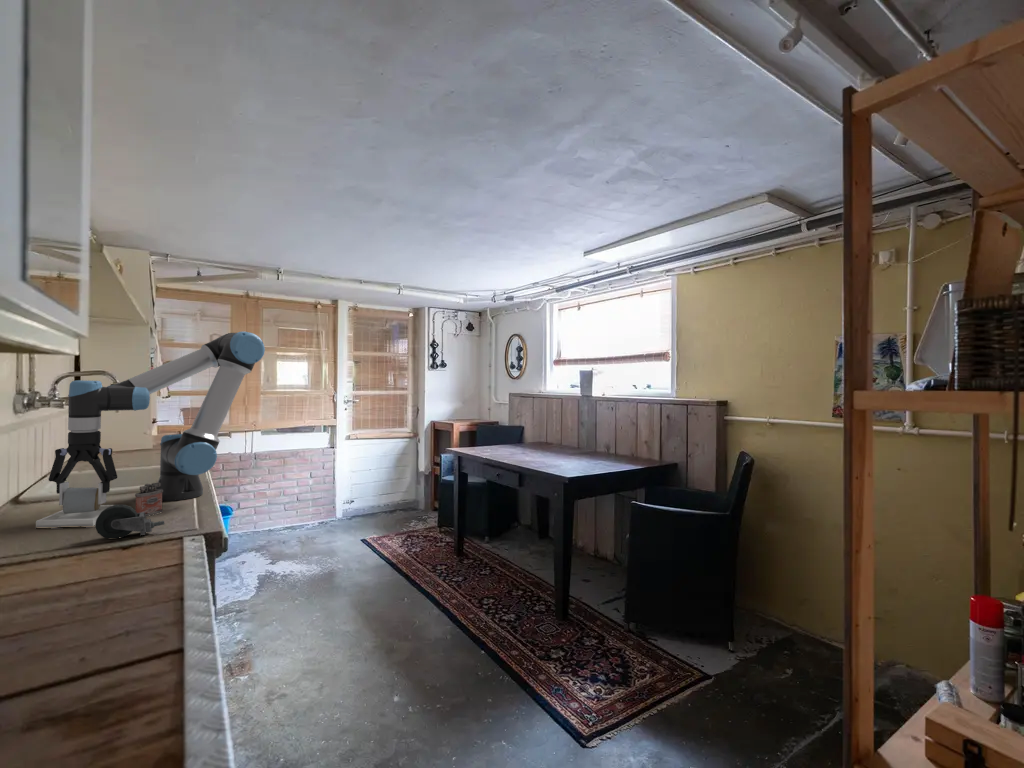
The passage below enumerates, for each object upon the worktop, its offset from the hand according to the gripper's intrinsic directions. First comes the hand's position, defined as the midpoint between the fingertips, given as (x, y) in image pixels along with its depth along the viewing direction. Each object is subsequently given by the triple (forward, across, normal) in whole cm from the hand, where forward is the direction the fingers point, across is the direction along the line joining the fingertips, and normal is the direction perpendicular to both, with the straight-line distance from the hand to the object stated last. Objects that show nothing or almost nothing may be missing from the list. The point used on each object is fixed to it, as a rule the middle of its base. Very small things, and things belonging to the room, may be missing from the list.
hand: (83, 503), depth 147 cm
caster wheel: (+5, -21, +17) cm, 27 cm away
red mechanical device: (+5, -16, -4) cm, 17 cm away
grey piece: (+3, +1, -1) cm, 3 cm away
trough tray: (+5, 0, 0) cm, 5 cm away
